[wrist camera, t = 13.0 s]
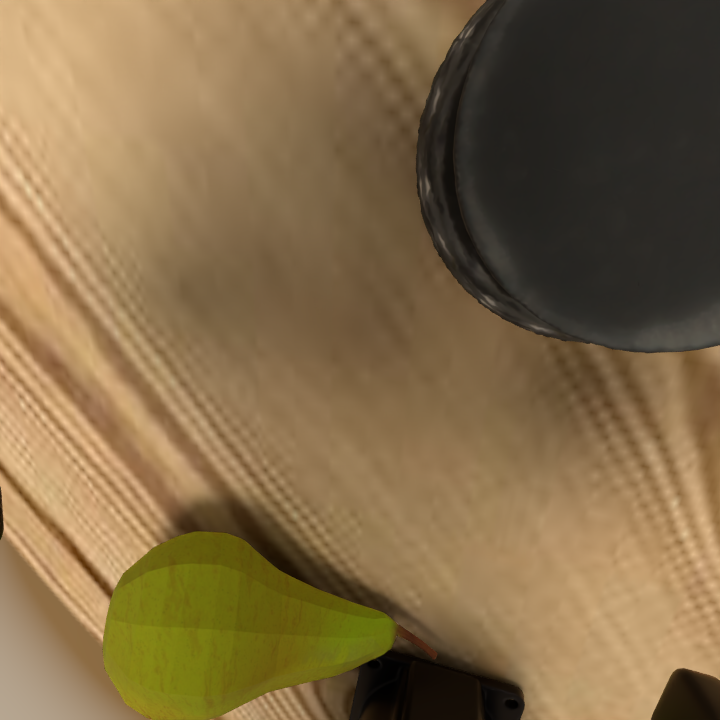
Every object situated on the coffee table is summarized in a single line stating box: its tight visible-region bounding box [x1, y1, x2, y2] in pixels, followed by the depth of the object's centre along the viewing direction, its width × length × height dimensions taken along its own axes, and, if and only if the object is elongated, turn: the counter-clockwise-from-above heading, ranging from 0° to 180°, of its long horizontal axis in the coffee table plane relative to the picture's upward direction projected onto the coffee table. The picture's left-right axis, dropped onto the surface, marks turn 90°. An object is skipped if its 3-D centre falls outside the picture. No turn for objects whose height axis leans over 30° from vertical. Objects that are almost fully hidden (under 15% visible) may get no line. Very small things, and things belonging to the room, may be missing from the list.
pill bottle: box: [416, 0, 720, 353], centre depth 11 cm, size 6×6×11 cm
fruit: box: [103, 531, 437, 720], centre depth 20 cm, size 6×6×12 cm
